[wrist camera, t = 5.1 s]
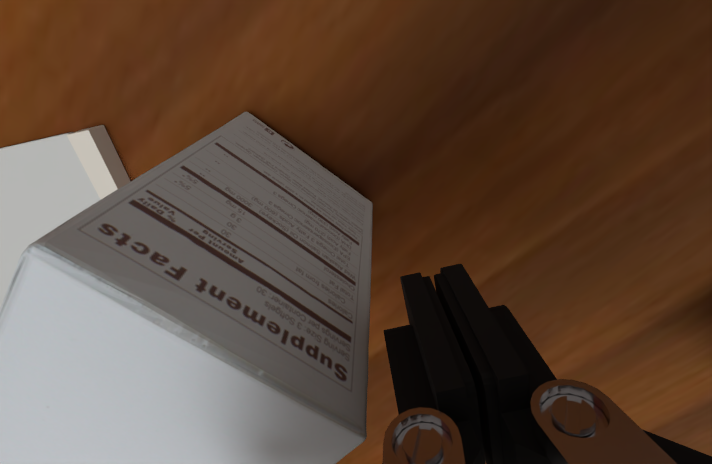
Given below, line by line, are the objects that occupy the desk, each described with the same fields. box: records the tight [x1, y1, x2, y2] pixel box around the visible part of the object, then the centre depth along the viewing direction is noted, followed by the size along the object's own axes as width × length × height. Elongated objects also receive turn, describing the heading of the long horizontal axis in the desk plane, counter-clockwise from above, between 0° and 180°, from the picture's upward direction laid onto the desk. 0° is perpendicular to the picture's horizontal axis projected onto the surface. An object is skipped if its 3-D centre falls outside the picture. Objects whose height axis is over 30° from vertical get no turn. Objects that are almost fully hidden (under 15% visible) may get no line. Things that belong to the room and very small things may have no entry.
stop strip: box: [67, 125, 131, 200], centre depth 20 cm, size 1×11×1 cm, turn 12°
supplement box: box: [0, 112, 373, 464], centre depth 14 cm, size 7×7×13 cm
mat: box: [0, 132, 100, 307], centre depth 21 cm, size 12×11×1 cm
